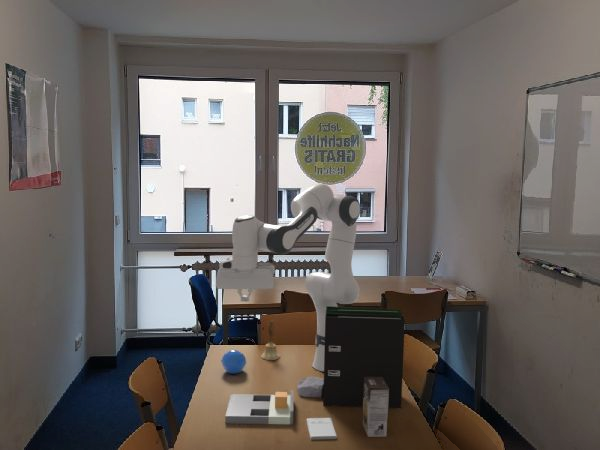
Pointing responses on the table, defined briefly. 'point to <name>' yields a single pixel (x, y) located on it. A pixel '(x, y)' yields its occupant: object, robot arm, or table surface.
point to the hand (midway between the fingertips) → (245, 301)
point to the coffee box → (375, 406)
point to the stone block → (311, 387)
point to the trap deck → (258, 410)
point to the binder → (362, 353)
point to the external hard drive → (321, 428)
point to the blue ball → (233, 361)
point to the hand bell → (270, 346)
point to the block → (281, 400)
